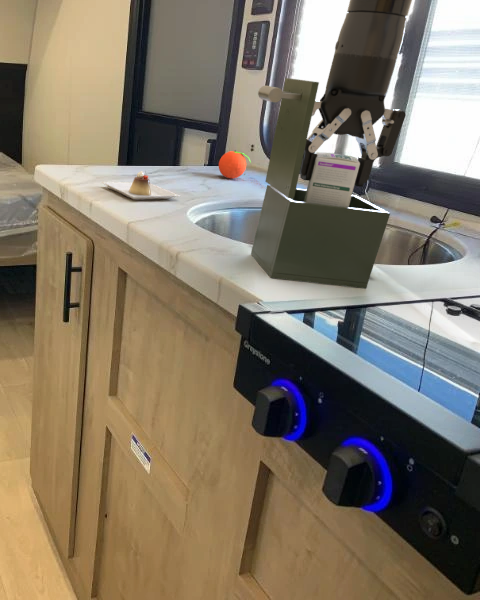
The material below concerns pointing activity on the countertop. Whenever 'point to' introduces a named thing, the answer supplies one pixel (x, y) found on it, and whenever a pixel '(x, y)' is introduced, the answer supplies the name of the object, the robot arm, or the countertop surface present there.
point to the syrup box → (332, 179)
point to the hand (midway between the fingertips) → (331, 182)
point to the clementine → (232, 164)
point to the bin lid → (289, 131)
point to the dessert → (140, 189)
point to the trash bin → (318, 239)
